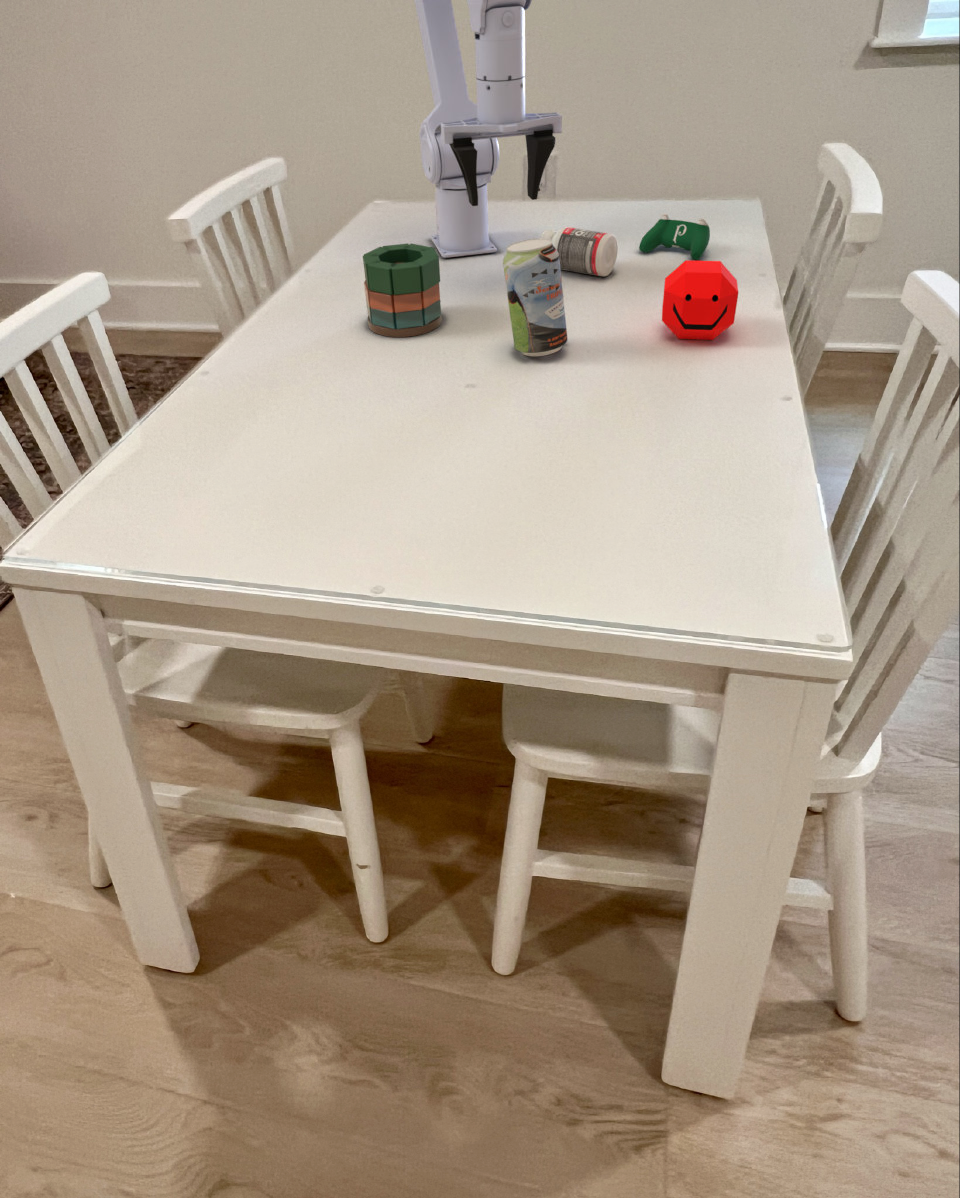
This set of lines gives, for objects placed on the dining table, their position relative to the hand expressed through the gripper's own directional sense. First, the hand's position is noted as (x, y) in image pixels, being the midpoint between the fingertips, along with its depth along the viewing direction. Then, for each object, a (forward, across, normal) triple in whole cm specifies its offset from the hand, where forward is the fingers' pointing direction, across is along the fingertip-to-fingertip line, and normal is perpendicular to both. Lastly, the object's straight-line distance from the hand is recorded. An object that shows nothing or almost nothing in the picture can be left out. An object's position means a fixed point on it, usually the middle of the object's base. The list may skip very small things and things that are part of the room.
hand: (503, 200), depth 112 cm
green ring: (+5, -15, -9) cm, 18 cm away
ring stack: (+10, -15, -9) cm, 20 cm away
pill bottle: (+8, +14, -2) cm, 16 cm away
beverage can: (+11, -2, -22) cm, 25 cm away
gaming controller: (+11, +26, +4) cm, 28 cm away
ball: (+11, +17, -23) cm, 31 cm away
